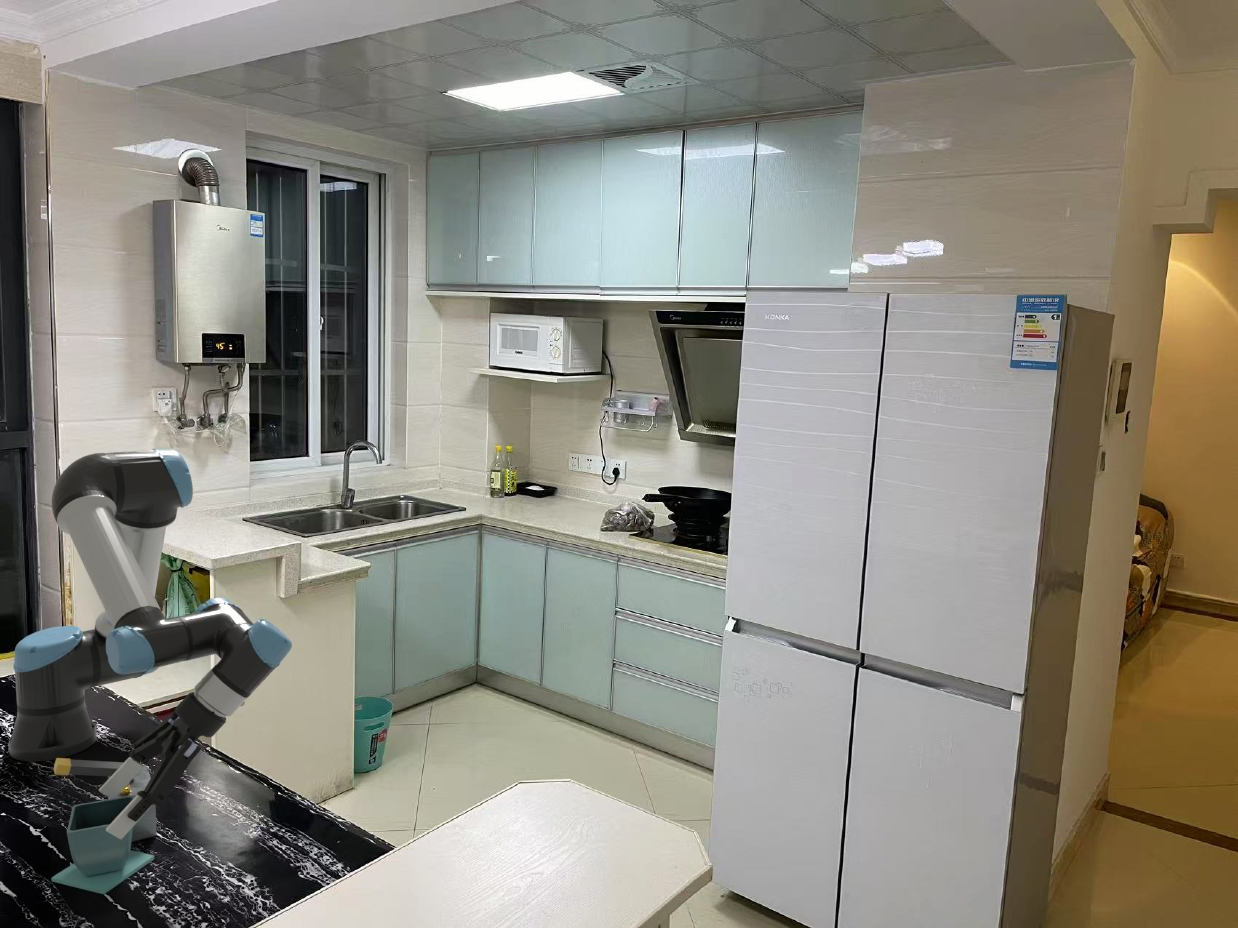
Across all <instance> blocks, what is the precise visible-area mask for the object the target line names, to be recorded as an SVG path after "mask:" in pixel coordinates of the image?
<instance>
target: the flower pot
mask: <svg viewBox="0 0 1238 928" xmlns="http://www.w3.org/2000/svg"><path fill="white" fill-rule="evenodd" d="M134 798H135V796H126V797H120V798H114V799H109V798H108V799H103V800H97V801H93V802H92V801H91V802H86V803H79V804H75V805H73V806H72V807H71V813H70V817H69V822H68V826H67V829H66V835H67V840H68V841H67V842H68V846H69V850H70V855H71V859H72V861H73V864H74V863H75V865H76V867H77V868H78V869H79V870H80V871H81V872H82V873H83V874H84V875H85V876H92V875H96V874H101V873H107V872H112V871H117V870H121V869H122V868H123V867H124V865H125V863H126V861H127V859H128V856H129V853H130V850H131V849H132V848H131V847H132V842H131V840H132V831H133V827H132V828H131V829H130V831H129V832H128V833H127V834H126V835H125V836H124V837H123V838H122V839H119V838H117V837H115V836H114V835H112V834H110V833H108V832H107V831H106V828H107V827H108V826H109V825H110V824H111V823H112V822H113V821H114V819H115V818H116V817H117V816H118V815H119V814H120V813H121V812H122V811H123V810H124V809H125V808H126V806H127V805H128V804H129V803H130V802H131V801H132V800H133V799H134Z"/></svg>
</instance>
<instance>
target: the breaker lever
mask: <svg viewBox="0 0 1238 928" xmlns="http://www.w3.org/2000/svg"><path fill="white" fill-rule="evenodd" d="M123 763H124V762H123V761H122V762H118V761H102V760H101V761H100V760H86V759H85V760H84V759H83V760H82V759H71V758H66V757H63V758H56V759H55V762H54V766H53V772H54V775H57V776H69V775H75V776H92V777H95V776H96V777H108V776H112V775H113V774H114V773H115V772H116V771H117V770H118V768H119V767H120V766H121V765H122V764H123Z"/></svg>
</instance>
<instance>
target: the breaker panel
mask: <svg viewBox="0 0 1238 928" xmlns="http://www.w3.org/2000/svg"><path fill="white" fill-rule="evenodd" d="M142 765H143V768H142V769H141V770H140V771H139V772H138V773H137V774H136V775H135V777H134V778H133V779H132V780H131V781H130V782H129V783H128V784H127V785H126V786H125V787H124V788H123V789H122V791H121V792H120V793H119V794H118V795H117V796H116V797H115V798H120V797H126V796H135V797H136V796H137V793H138V792H139V791H142V790H143V791H144V790H145V788H146V786H147V784H148V782H149V781H150V779H151V777H152V776H151V775H150V772H149V768H148V764H147V765H145V764H142ZM110 777H111V776H107V780H108V779H109V778H110ZM107 798H108V800H109V799H111V798H109V797H108V796H107ZM156 806H157V805H154V804H153V805H152V806H151V808H150V809H149V810H148V811H147V812H146V813H145V814H144V815H143V816H142V817H141V819H140V820H139V821H138V822H137V823H136V824H135V825H134V826H133V831H132V840H131V843H132V842H136V841H140V840H144V839H148V838H152V837H156V836H157V835H158V834H157V810H156V809H157V808H156Z"/></svg>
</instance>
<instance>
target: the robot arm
mask: <svg viewBox="0 0 1238 928" xmlns="http://www.w3.org/2000/svg"><path fill="white" fill-rule="evenodd" d="M193 494H194V488H193V480H192V476H191V472H190V469H189V467H188V464H187V461H186V460H185V458H184V457H183V456H182V455H181V454H180V453H179V451H177V450H174V449H169V448H168V449H166V448H165V449H157V448H152V449H150V450H149V449H148V450H146V449H145V450H134V451H133V450H132V451H117V452H116V451H115V452H106V453H105V452H97V453H91V454H88V455H85V456H82V457H80V458H78V459H76V460H75V461H73V462H72V463H70V464H69V465H68V466H67V467H66V468H65V469H64V470H63V471H62V472H61V474H60V475H59V477H58V479H57V480H56V483H55V485H54V488H53V490H52V495H51V509H52V510H51V511H52V515H53V518H54V521H55V522H56V524H57V526H58V528H59V530H60V531H61V532H63V533H64V534H67V535H69V536H70V539H71V540H72V543H73V545H74V547H75V550H76V552H77V554H78V555H79V559H80V560H81V562H82V565H83V566H84V568H85V571H86V573H87V575H88V577H89V580H90V582H91V584H92V585H93V589H94V590H95V592H96V595H97V597H98V599H99V601H100V603H101V604H102V607H103V609H104V610H103V611H102V612H101V613H100V614H98V616H97V617H96V619H95V623H94V625H95V626H94V629H90V630H84V631H82V629H81V628H80V627H78V626H75V625H64V626H53V627H49V628H44V629H41V630H38V631H35V632H33V633H31V634H29V635H27V636H25V637H24V638H23V639H22V640H20V641H19V642H18V643H17V644H16V646H15V649H14V656H13V657H14V660H13V670H14V675H15V676H14V677H15V680H14V681H15V692H16V695H15V696H16V706H17V707H16V709H17V710H16V711H17V715H16V719H15V721H14V725H13V731H12V734H11V736H10V737H9V739H8V752H9V753H8V754H9V756H10V757H11V758H13V759H15V760H17V761H18V760H19V761H21V762H22V761H24V762H43V761H44V762H46V761H53V760H56V758H66V757H70V756H72V755H76V754H78V753H80V752H82V751H84V750H87V749H88V748H90V747H91V746H92V745H93V744H94V743H95V742H96V740H97V738H98V737H97V726H96V724H95V722H94V721H93V718H92V715H91V713H90V710H89V708H88V707H87V705H86V696H85V694H86V692H85V690H88V689H91V688H96V687H100V686H104V685H107V684H113V683H118V682H122V681H125V680H132V679H138V678H141V677H143V676H145V675H148V674H152V673H154V672H155V671H157V670H158V669H159V668H162V667H165V666H166V667H167V666H168V665H172V664H173V665H174V664H177V663H181V662H186V661H187V662H188V661H191V660H196V659H200V658H205V657H209V656H213V655H217V657H218V658H220V660H219V661H218V662H217V663H216V664H215V665H214V666H213V667H212V668H211V669H210V670H209V671H208V672H207V673H206V674H204V676H203V677H202V678H201V680H199V682H197V684H196V685H195V686H194V691H192V692H189V693H188V694H187V695H186V696H185V697H184V698H183V699H182V701H180V702H179V704H177V706H176V707H175V710H174V711H173V712H172V713H171V714H170V715H169V716H168V717H167V718H166V719H165V720H163V721H162V722H161V723H159V724H158V725H157V726H155V727H154V728H152V729H151V730H150V731H149V732H147V733H146V734H145V735H143V736H142V737H141V738H139V739H138V740H137V741H135V742H134V743H133V744H132V746H131V748H132V749H133V750H131V753H130V755H129V756H128V758H127V759H126V760H125V761H124V762H123V764H122V765H121V766H120V767H119V768H118V770H117V771H116V772H115V773H114V774H113V775H112V776H111V777H110V778H109V779H108V778H107V780H106V781H105V782H104V783H103V784H102V786H100V788H99V789H98V793H99V792H100V793H101V794H103V795H105V796H106V797H107V798H108V797H109V798H111V799H114V798H115V797H116V796H117V795H118V794H119V793H120V792H121V791H122V789H123V788H124V787H125V786H126V785H127V784H128V783H129V782H130V781H131V780H132V779H133V778H134V777H135V775H136V774H137V773H138V772H139V771H140V770H141V769H142V768H143V765H147V766H148V764H149V762H150V760H151V759H153V758H156V756H158V755H160V757H161V759H160V761H159V763H158V764H157V766H156V768H155V770H154V772H153V773H152V775H151V776H150V777H151V779H150V781H149V782H148V784H147V786H146V788H145V790H144V791H143V790H142V791H139V792H138V793H137V796H136V797H135V798H134V799H133V800H132V801H131V802H130V803H129V804H128V805H127V806H126V808H125V809H124V810H123V811H122V812H121V813H120V814H119V815H118V816H117V817H116V818H115V819H114V821H113V822H112V823H111V824H110V825H109V826H108V827H107V828H106V831H107V832H108V833H110V834H112V835H114V836H115V837H117V838H119V839H122V838H123V837H124V836H125V835H126V834H127V833H128V832H129V831H130V829H131V828H132V827H133V826H134V825H135V824H136V823H137V822H138V821H139V820H140V819H141V817H142V816H143V815H144V814H145V813H146V812H147V811H148V810H149V809H150V808H151V806H152V805H153V804H154V805H156V806H158V807H159V808H160V807H162V806H163V805H164V803H165V802H166V800H167V799H168V797H169V796H170V794H171V793H172V792H173V790H174V788H175V787H176V785H177V784H178V782H179V781H180V779H181V777H182V776H183V774H184V773H185V771H186V770H187V768H188V767H189V765H190V764H191V762H192V761H193V760H194V758H195V757H196V756H197V755H198V754H199V753H200V751H201V747H200V746H199V745H197V744H196V742H197V741H198V739H199V738H200V737H205V738H212V737H215V735H216V734H217V732H218V731H219V730H220V729H221V728H222V727H223V726H224V725H225V724H226V722H227V717H232V715H234V713H235V712H236V711H237V710H238V709H239V708H240V707H243V706H245V704H246V702H245V701H246V700H247V699H248V698H250V696H251V694H253V693H254V692H255V691H256V689H257V688H259V686H260V685H261V684H262V683H263V682H264V681H265V680H266V679H267V678H268V677H269V676H270V674H271V673H272V672H273V671H274V670H275V669H276V668H277V667H279V666H280V665H281V663H282V661H283V660H284V659H285V658H286V657H287V655H288V654H289V652H290V651H291V650H292V648H293V642H292V640H290V638H289V637H288V636H287V635H286V634H284V633H283V631H281V630H280V629H279V628H278V627H277V626H275V625H274V624H272V623H271V622H270V621H268V620H267V619H265V618H260V619H257V620H256V622H255V623H253V622H252V620H250V618H249V617H248V616H247V615H246V614H245V612H244V610H243V609H241V608H240V607H239V606H238V605H236V604H235V603H233V602H232V601H231V600H229V599H227V598H225V597H212V598H210V599H207V601H205V602H204V603H201V604H199V606H197V608H196V609H195V611H194V612H193V613H190V614H186V615H185V614H183V615H179V616H175V617H174V616H173V617H168V618H166V617H165V615H164V613H163V612H162V610H161V607H160V605H159V604H158V601H157V599H156V598H155V596H156V591H157V584H158V578H159V574H160V573H159V572H160V566H161V560H162V555H163V554H162V553H163V547H164V540H165V535H166V527H169V526H170V525H172V524H173V523H174V522H175V521H176V518H177V514H178V513H177V512H178V509H179V508H185V507H188V506H189V505H190V504H191V502H192V500H193ZM109 798H108V799H109Z"/></svg>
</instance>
